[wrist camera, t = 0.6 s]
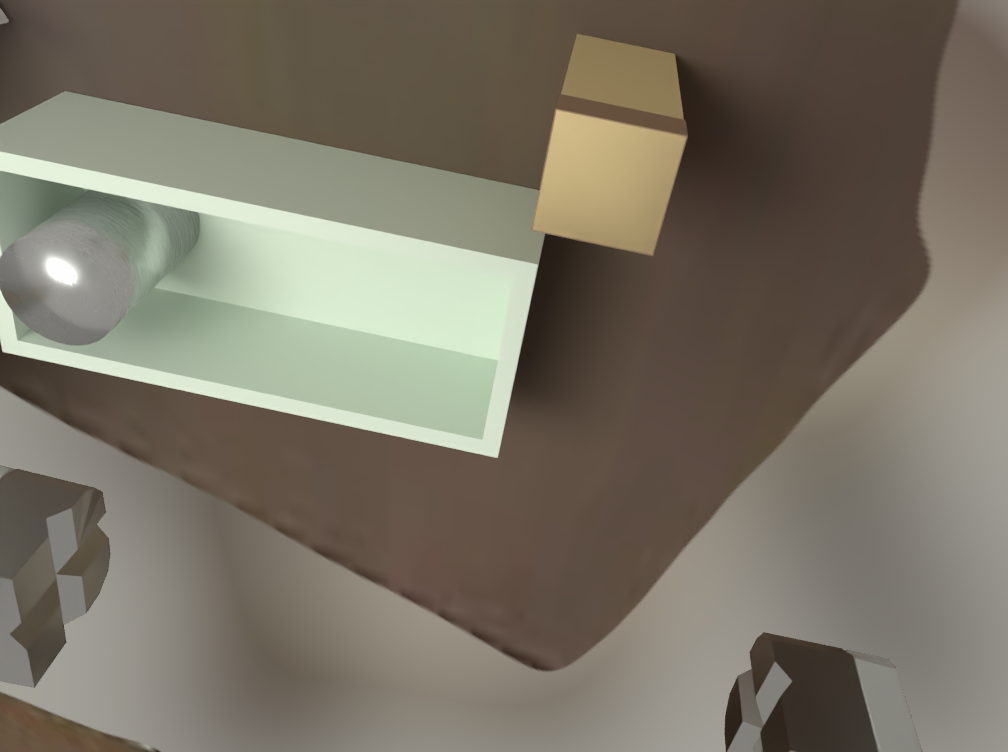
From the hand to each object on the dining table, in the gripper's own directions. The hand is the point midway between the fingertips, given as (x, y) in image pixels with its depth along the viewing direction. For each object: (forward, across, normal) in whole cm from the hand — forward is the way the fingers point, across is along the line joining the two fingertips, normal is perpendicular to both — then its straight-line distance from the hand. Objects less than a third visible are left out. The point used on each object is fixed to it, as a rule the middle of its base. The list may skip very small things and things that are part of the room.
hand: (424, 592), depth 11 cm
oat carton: (+39, -2, +4) cm, 39 cm away
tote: (+39, +14, +16) cm, 44 cm away
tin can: (+38, +22, +16) cm, 47 cm away
